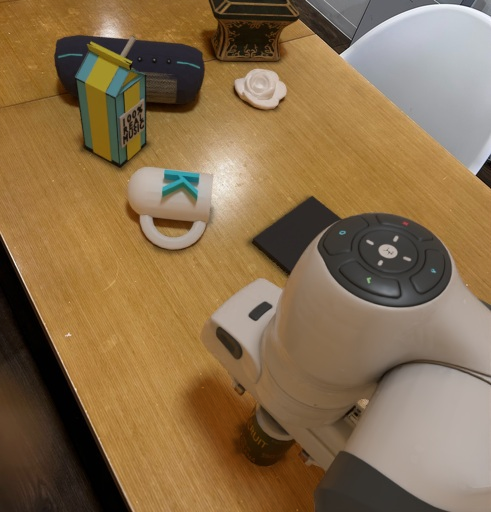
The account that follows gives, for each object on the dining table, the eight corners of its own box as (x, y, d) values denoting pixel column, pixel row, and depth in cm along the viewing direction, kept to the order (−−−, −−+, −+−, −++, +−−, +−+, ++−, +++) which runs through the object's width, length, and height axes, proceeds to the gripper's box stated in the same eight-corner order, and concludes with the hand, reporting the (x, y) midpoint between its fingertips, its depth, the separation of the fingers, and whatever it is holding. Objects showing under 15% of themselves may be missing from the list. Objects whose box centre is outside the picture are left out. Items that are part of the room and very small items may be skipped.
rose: (285, 60, 95) (294, 92, 90) (280, 80, 99) (289, 111, 93) (234, 57, 93) (240, 89, 88) (231, 77, 97) (236, 109, 91)
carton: (151, 142, 83) (151, 42, 68) (121, 168, 78) (115, 67, 64) (114, 123, 84) (107, 21, 70) (84, 148, 80) (69, 44, 65)
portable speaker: (56, 108, 84) (46, 55, 76) (62, 73, 90) (53, 20, 82) (203, 117, 89) (209, 68, 81) (200, 83, 94) (205, 33, 86)
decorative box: (277, 37, 108) (299, -62, 92) (289, 63, 103) (314, -37, 87) (186, 35, 103) (192, -70, 87) (193, 63, 98) (202, -44, 82)
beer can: (271, 413, 59) (295, 373, 50) (293, 456, 57) (322, 423, 47) (231, 431, 57) (247, 393, 48) (251, 476, 55) (273, 447, 45)
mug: (126, 150, 67) (215, 161, 68) (132, 175, 76) (210, 184, 77) (115, 234, 64) (207, 243, 66) (122, 249, 73) (203, 257, 74)
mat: (410, 278, 74) (413, 274, 73) (356, 334, 67) (359, 330, 66) (310, 199, 81) (312, 194, 80) (251, 242, 74) (253, 237, 73)
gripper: (436, 437, 38) (370, 476, 49) (247, 264, 44) (226, 334, 55) (392, 500, 35) (331, 527, 46) (195, 304, 41) (184, 369, 52)
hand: (273, 420), depth 51 cm, fingers open, 8 cm apart
